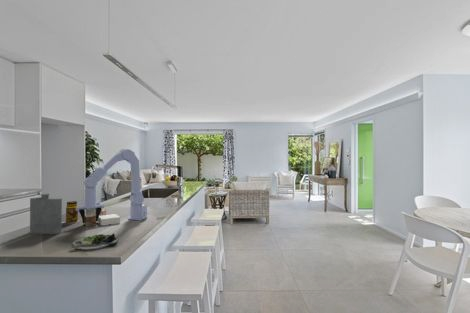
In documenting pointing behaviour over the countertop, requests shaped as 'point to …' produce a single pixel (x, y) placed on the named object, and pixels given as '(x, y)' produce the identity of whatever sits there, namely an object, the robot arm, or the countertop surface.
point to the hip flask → (45, 215)
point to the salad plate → (95, 242)
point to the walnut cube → (90, 220)
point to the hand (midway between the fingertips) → (90, 221)
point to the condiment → (71, 212)
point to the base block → (108, 219)
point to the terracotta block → (102, 212)
